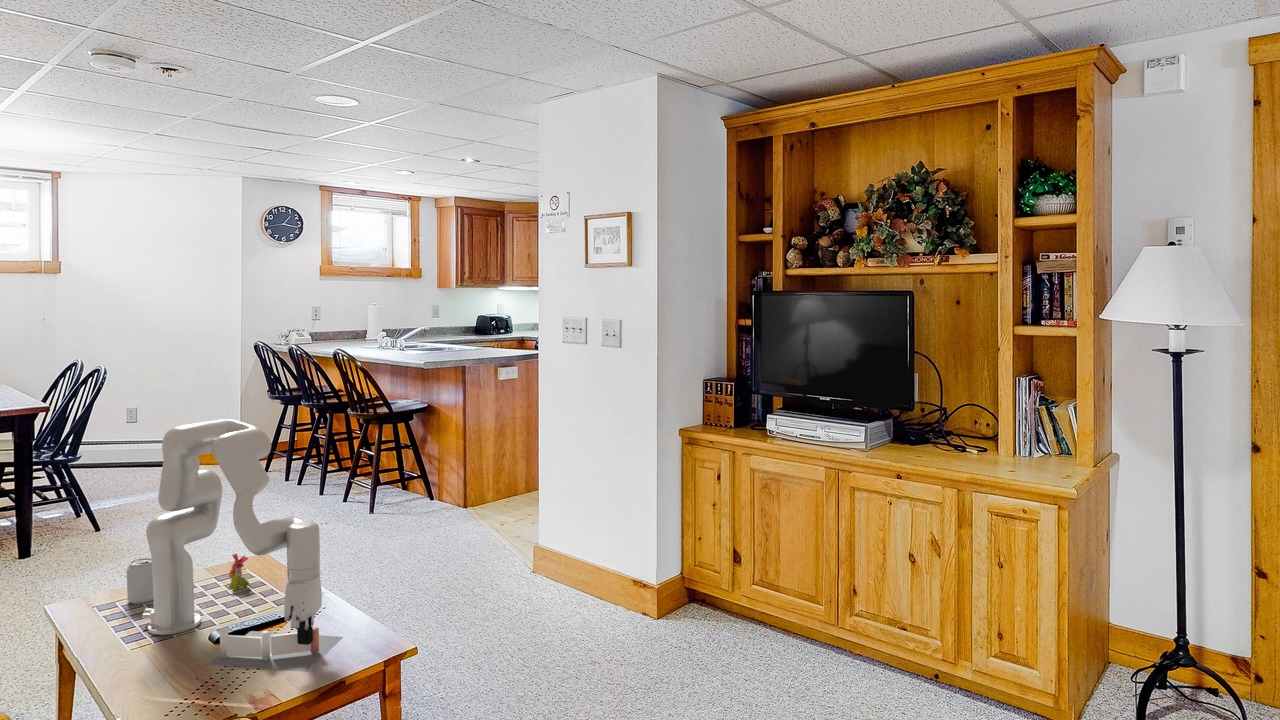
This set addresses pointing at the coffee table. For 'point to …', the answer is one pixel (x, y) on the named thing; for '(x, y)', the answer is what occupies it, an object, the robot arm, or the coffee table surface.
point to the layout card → (279, 656)
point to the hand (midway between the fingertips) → (305, 642)
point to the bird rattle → (238, 573)
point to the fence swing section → (293, 643)
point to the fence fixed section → (245, 645)
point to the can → (140, 581)
